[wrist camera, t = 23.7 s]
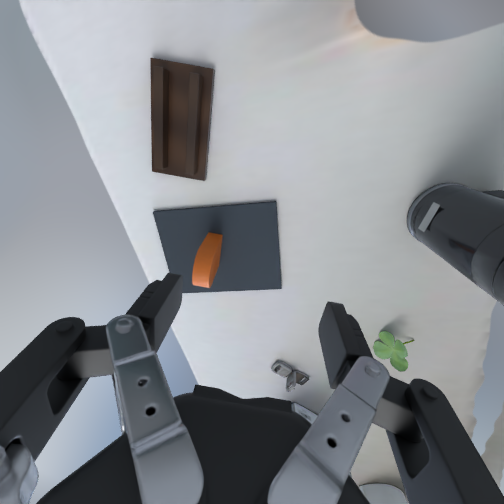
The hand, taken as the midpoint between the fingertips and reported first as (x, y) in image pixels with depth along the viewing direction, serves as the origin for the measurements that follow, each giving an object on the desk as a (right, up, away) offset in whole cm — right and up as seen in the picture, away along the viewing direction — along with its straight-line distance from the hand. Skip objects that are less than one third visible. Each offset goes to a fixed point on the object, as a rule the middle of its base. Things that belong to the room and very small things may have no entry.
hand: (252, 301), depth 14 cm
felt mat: (-5, +3, +30) cm, 31 cm away
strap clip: (+8, -24, +42) cm, 49 cm away
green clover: (+27, -15, +37) cm, 48 cm away
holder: (-10, +21, +22) cm, 32 cm away
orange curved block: (-7, +3, +30) cm, 31 cm away
